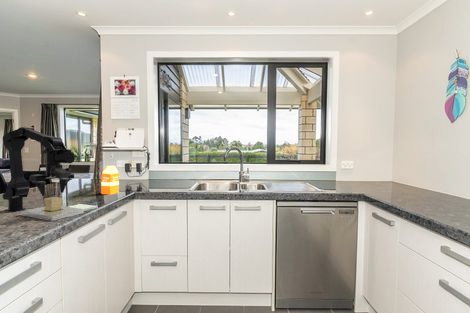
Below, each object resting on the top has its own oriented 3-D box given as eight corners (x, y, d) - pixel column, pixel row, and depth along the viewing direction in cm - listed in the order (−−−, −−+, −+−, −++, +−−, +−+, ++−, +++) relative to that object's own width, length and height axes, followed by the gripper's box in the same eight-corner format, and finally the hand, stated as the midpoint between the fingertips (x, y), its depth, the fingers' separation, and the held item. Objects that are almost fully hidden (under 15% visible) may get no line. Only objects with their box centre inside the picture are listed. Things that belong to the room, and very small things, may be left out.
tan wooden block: (44, 214, 129) (44, 198, 129) (54, 212, 134) (54, 196, 133) (51, 215, 127) (51, 199, 127) (61, 213, 132) (61, 197, 132)
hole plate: (20, 215, 127) (20, 211, 127) (54, 208, 142) (54, 204, 142) (51, 220, 119) (51, 216, 119) (83, 213, 134) (83, 209, 134)
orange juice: (118, 192, 195) (119, 165, 194) (110, 194, 187) (110, 166, 186) (110, 191, 197) (110, 165, 197) (101, 193, 189) (101, 165, 188)
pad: (63, 209, 141) (63, 207, 141) (80, 205, 150) (80, 203, 150) (79, 211, 136) (79, 209, 136) (96, 207, 146) (96, 206, 146)
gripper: (44, 164, 118) (44, 198, 118) (82, 162, 135) (81, 192, 136) (28, 163, 122) (28, 196, 123) (66, 161, 139) (66, 191, 140)
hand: (52, 194), depth 130 cm, fingers open, 9 cm apart
